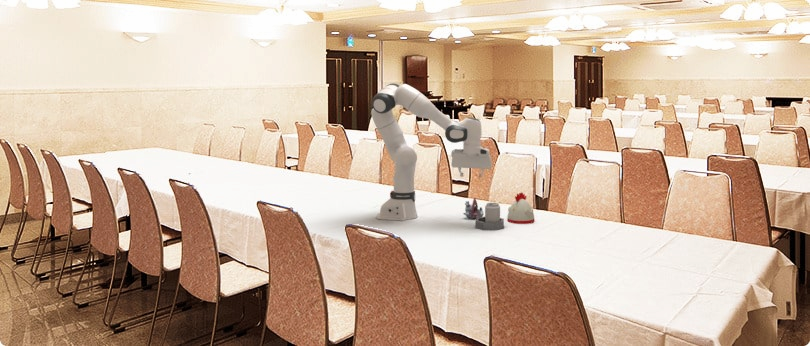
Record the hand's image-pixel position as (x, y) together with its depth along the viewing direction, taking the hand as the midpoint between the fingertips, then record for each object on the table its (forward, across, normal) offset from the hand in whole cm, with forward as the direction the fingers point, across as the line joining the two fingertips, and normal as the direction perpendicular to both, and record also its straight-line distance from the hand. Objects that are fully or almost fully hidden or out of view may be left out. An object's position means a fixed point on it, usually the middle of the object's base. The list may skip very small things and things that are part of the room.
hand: (471, 176), depth 331 cm
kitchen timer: (+24, +26, +9) cm, 36 cm away
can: (+24, +12, -5) cm, 28 cm away
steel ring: (+24, +10, -5) cm, 27 cm away
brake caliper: (+25, +1, +15) cm, 29 cm away
